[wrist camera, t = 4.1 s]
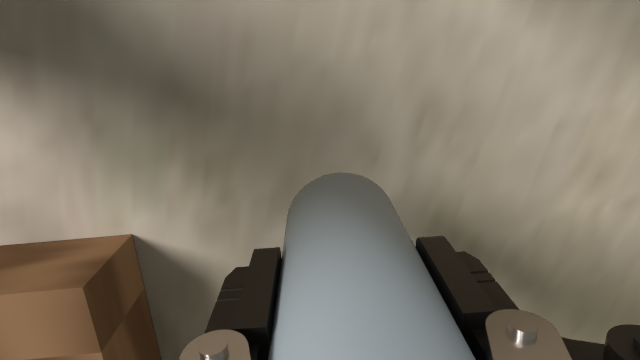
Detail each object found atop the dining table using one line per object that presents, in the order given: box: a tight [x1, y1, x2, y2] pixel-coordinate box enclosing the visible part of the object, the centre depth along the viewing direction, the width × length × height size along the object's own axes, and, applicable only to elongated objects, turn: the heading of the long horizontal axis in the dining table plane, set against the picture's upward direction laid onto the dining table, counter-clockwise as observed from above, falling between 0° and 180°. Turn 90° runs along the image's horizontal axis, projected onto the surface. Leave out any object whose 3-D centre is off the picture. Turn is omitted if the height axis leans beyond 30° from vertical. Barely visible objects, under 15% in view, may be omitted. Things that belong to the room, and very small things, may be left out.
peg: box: [268, 173, 476, 360], centre depth 10 cm, size 4×4×10 cm
